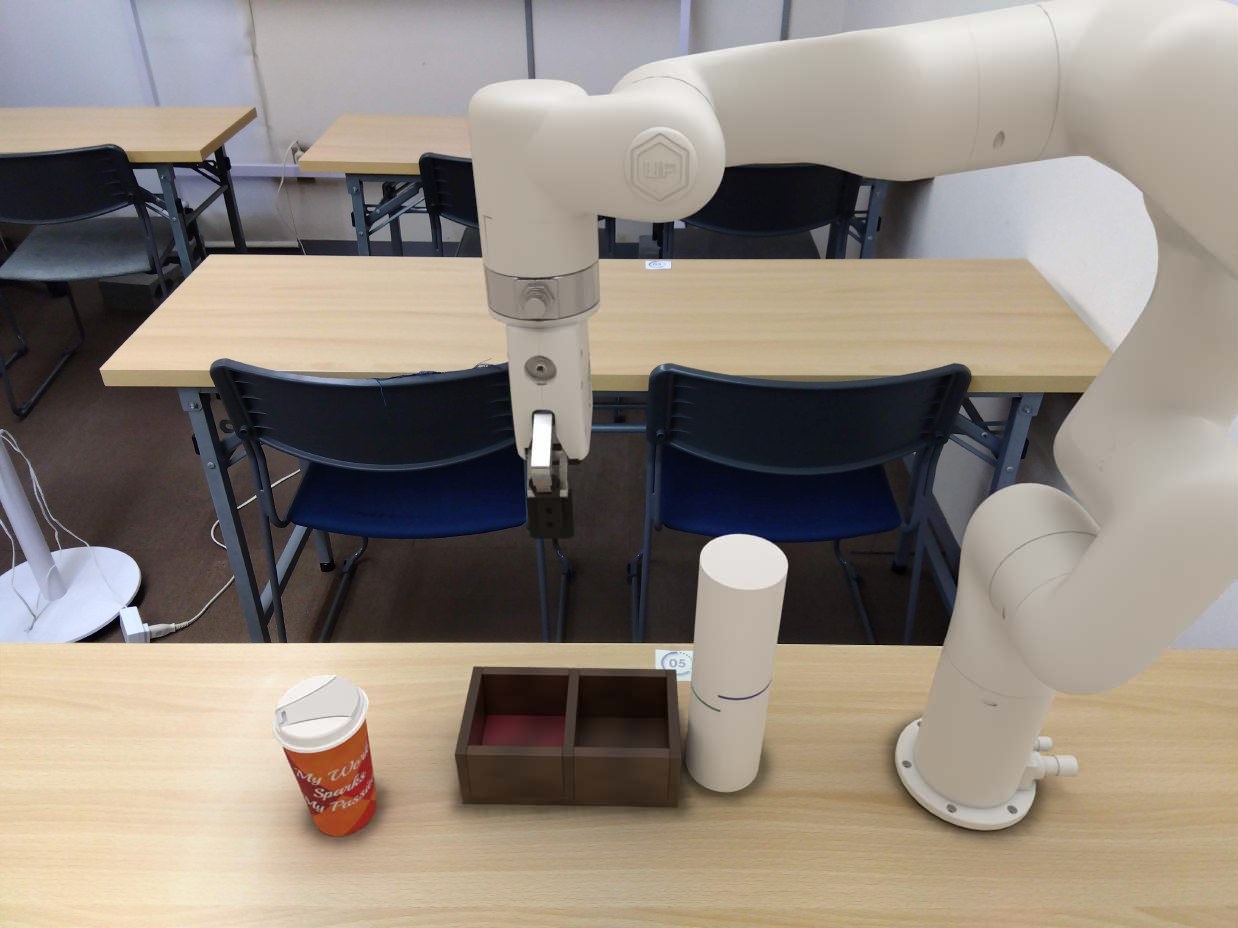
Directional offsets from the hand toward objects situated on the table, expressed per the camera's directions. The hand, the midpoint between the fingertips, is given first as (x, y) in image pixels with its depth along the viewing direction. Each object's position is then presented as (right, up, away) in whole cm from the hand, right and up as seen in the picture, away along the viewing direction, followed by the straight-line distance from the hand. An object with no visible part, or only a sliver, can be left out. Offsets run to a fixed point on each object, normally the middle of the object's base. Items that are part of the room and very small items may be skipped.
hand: (557, 497), depth 66 cm
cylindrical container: (+15, -26, +18) cm, 35 cm away
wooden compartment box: (0, -26, +18) cm, 32 cm away
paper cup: (-20, -29, +13) cm, 38 cm away
